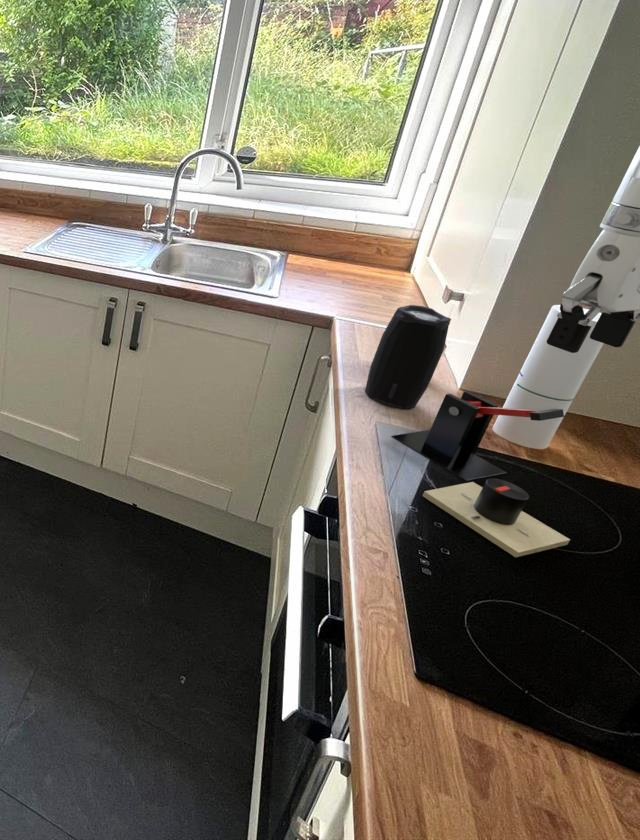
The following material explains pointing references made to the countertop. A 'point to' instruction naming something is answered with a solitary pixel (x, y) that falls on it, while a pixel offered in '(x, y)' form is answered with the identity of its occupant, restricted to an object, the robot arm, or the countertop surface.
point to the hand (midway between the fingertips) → (583, 345)
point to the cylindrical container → (546, 385)
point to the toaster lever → (519, 412)
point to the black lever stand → (455, 438)
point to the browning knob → (501, 501)
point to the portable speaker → (407, 356)
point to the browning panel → (510, 538)
